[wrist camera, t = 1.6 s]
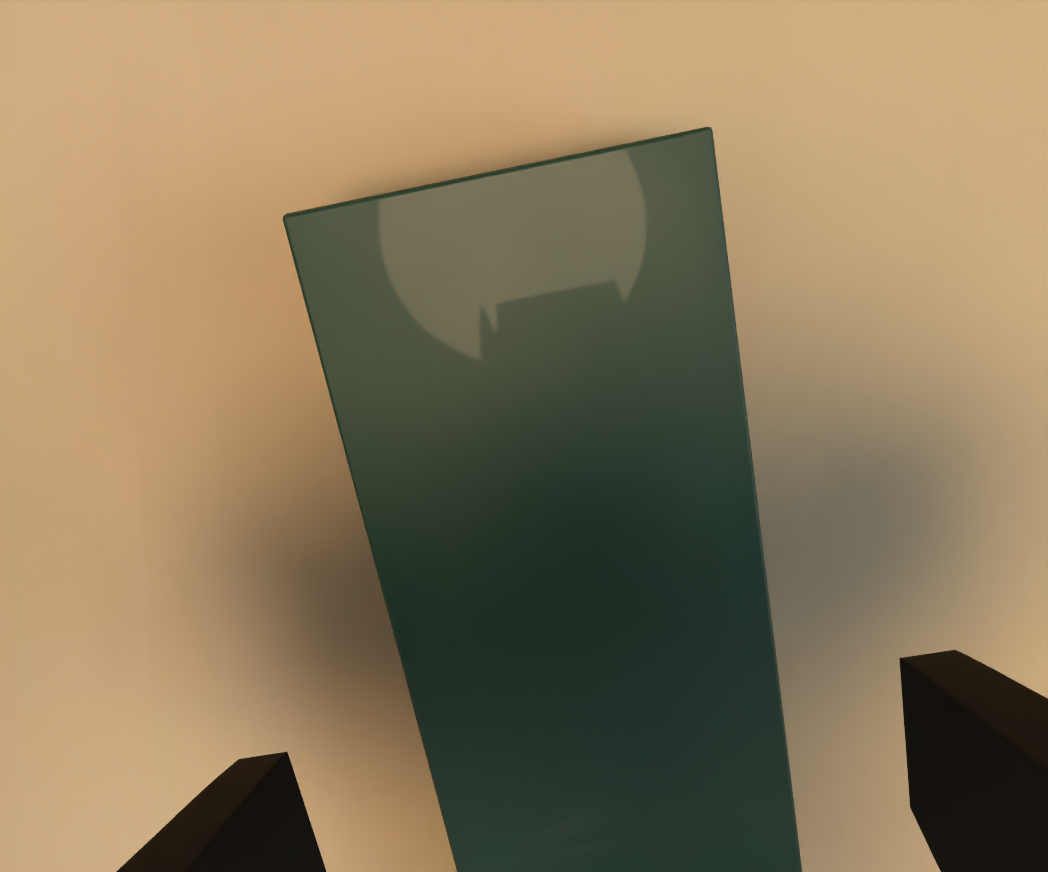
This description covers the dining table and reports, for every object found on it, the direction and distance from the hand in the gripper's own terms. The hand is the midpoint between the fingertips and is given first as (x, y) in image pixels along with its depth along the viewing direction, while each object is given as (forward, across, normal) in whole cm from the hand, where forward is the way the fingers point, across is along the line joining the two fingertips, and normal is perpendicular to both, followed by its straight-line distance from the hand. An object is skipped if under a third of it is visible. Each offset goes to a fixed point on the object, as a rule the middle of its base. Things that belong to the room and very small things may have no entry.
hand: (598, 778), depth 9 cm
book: (+5, 0, 0) cm, 5 cm away
